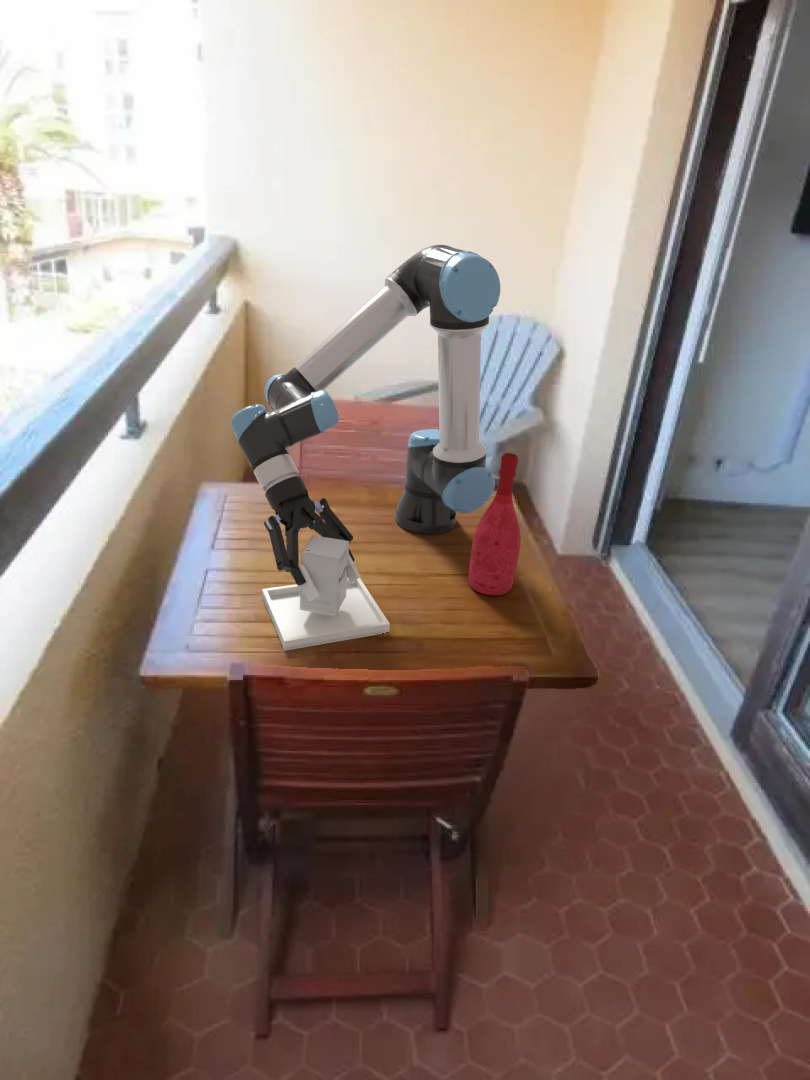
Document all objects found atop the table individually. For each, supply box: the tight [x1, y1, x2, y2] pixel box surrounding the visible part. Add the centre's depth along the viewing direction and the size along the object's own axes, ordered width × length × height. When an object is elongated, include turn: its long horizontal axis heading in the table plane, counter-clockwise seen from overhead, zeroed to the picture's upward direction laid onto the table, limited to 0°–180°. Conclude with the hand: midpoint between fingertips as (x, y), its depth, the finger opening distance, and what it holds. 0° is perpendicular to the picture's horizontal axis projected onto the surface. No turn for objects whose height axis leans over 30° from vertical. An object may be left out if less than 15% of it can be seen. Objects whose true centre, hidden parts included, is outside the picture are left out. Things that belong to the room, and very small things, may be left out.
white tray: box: [261, 577, 391, 651], centre depth 138 cm, size 20×18×2 cm
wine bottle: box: [468, 452, 522, 596], centre depth 146 cm, size 10×10×30 cm
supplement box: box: [300, 535, 350, 616], centre depth 134 cm, size 7×7×13 cm
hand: (335, 589), depth 133 cm, fingers closed on supplement box, 10 cm apart
